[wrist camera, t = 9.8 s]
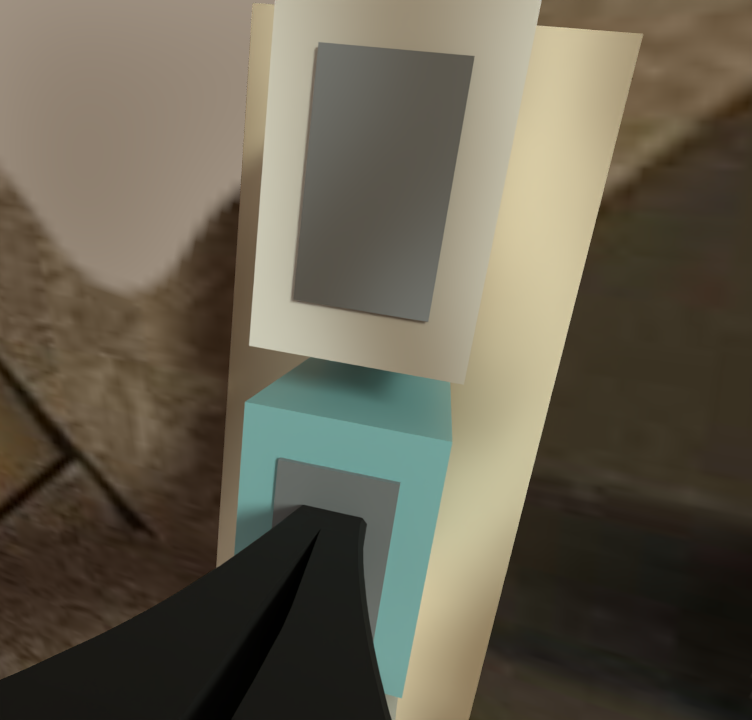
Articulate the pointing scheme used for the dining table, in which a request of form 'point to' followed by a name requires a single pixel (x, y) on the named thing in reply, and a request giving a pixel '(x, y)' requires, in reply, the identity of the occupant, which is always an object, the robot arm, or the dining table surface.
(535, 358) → the board
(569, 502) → the dining table surface
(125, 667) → the robot arm
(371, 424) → the teal module
